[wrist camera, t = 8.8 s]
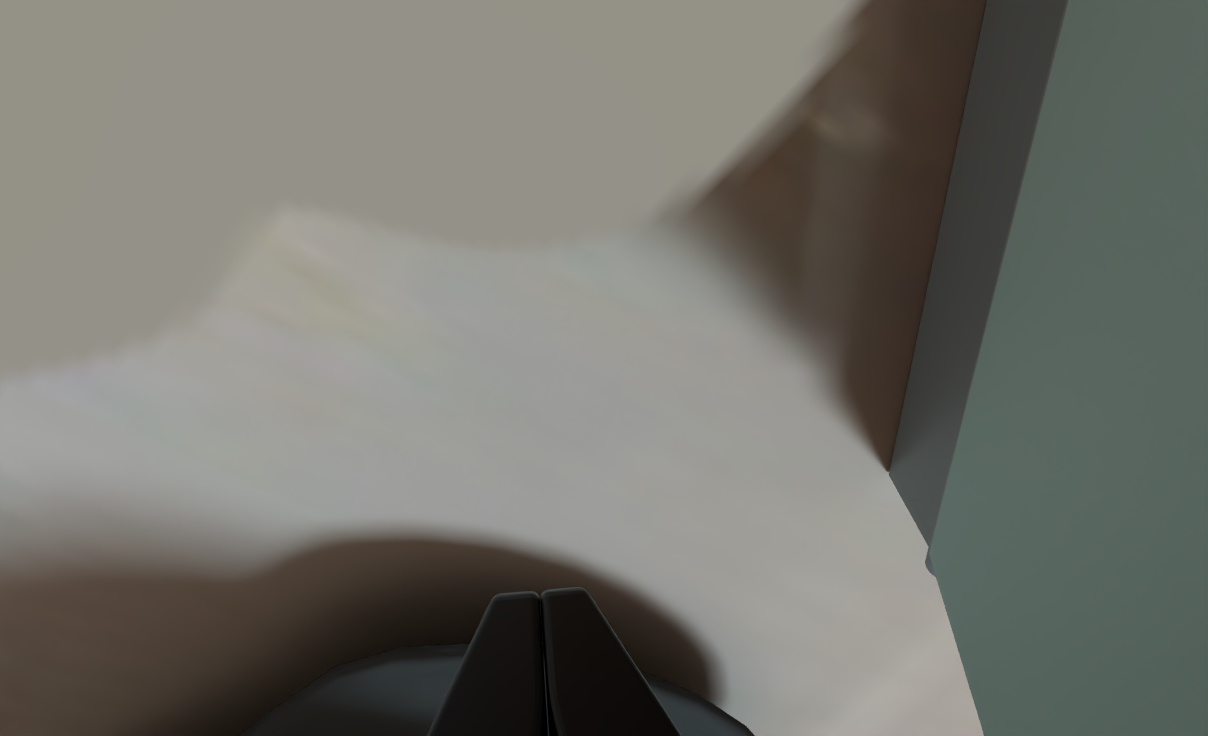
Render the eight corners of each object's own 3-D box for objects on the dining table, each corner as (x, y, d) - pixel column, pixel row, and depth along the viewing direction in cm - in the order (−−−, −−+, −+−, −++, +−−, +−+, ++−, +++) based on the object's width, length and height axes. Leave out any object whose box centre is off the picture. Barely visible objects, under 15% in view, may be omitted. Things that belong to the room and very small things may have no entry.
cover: (1155, 1094, 10) (1043, 1084, 11) (964, 551, 17) (898, 548, 18) (2006, -15, 4) (1712, -19, 4) (1168, -171, 11) (1062, -171, 11)
